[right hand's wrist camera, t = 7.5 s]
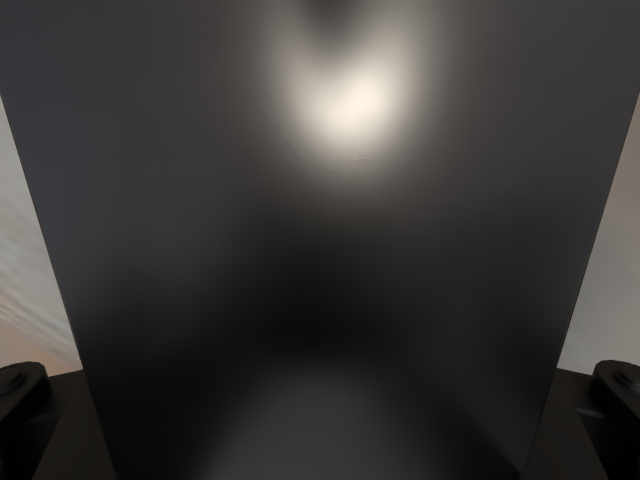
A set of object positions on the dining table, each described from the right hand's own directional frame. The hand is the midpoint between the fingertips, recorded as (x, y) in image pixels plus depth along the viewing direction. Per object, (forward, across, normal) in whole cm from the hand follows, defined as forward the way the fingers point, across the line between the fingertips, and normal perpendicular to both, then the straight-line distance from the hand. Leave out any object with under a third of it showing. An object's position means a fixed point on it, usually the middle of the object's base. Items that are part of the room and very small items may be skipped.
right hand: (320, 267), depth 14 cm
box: (+2, 0, -8) cm, 9 cm away
